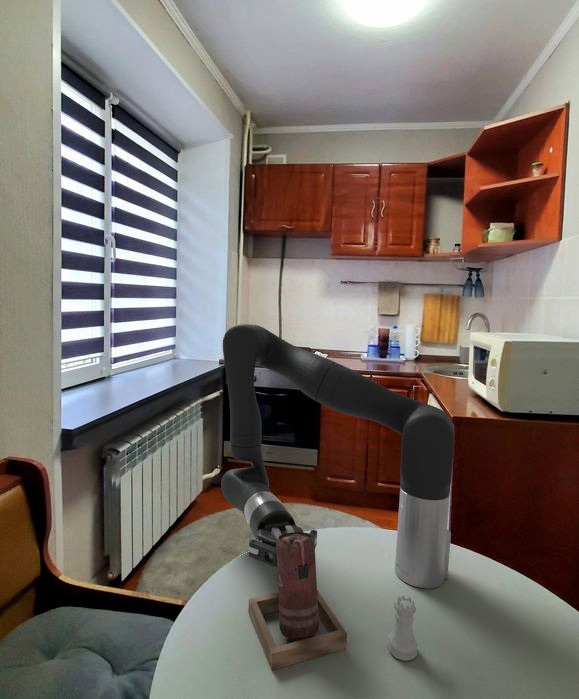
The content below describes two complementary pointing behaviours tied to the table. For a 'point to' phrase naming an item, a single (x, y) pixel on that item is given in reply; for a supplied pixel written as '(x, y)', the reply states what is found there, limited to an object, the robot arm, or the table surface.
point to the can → (297, 586)
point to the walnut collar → (297, 649)
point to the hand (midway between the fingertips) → (304, 573)
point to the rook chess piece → (403, 631)
